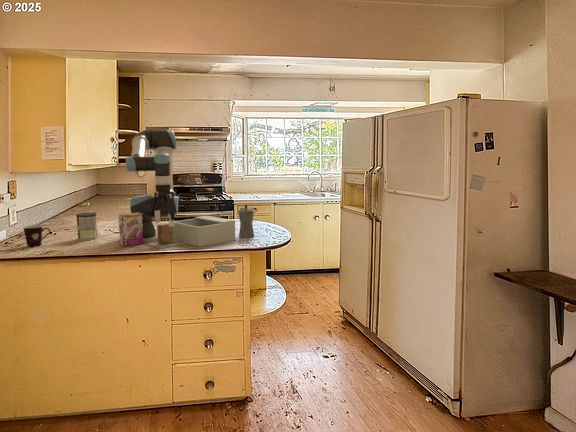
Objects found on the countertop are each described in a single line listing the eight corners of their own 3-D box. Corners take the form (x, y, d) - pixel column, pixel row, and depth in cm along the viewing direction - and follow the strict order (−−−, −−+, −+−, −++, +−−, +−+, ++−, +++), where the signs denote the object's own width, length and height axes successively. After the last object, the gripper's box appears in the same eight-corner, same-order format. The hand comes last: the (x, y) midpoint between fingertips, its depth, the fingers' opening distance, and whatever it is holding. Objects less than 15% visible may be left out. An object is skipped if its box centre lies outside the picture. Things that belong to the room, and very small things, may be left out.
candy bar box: (123, 246, 246) (121, 215, 244) (119, 245, 250) (117, 214, 248) (144, 243, 254) (142, 213, 251) (140, 242, 258) (138, 212, 255)
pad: (146, 244, 251) (146, 243, 251) (169, 240, 261) (169, 239, 261) (160, 248, 242) (160, 247, 242) (184, 244, 252) (184, 243, 252)
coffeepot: (258, 237, 269) (258, 205, 266) (242, 239, 265) (242, 206, 262) (248, 233, 283) (248, 202, 280) (233, 234, 278) (232, 203, 276)
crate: (171, 239, 264) (170, 220, 263) (206, 233, 281) (206, 215, 280) (199, 246, 246) (198, 225, 245) (235, 239, 263) (234, 220, 262)
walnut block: (157, 243, 251) (156, 224, 250) (167, 242, 255) (167, 223, 254) (162, 245, 248) (162, 225, 246) (173, 243, 252) (172, 224, 250)
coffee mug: (23, 248, 245) (21, 228, 244) (27, 244, 253) (25, 225, 252) (48, 246, 248) (46, 227, 247) (51, 243, 256) (49, 224, 255)
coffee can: (73, 239, 267) (72, 214, 265) (89, 236, 275) (88, 212, 273) (85, 241, 261) (84, 215, 259) (101, 238, 270) (100, 213, 268)
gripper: (182, 185, 241) (184, 226, 245) (156, 181, 258) (158, 220, 262) (169, 186, 236) (171, 228, 239) (143, 182, 253) (145, 222, 256)
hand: (164, 224), depth 251 cm, fingers open, 13 cm apart
